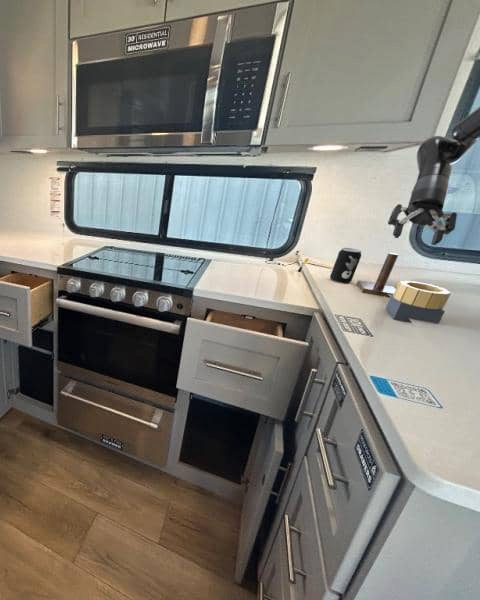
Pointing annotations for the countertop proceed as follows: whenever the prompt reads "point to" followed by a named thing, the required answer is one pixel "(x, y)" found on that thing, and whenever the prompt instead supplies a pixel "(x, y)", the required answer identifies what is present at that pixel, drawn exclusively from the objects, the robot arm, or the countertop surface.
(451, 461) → the countertop surface
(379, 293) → the stand
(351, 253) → the black printed box
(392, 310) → the block
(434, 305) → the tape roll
